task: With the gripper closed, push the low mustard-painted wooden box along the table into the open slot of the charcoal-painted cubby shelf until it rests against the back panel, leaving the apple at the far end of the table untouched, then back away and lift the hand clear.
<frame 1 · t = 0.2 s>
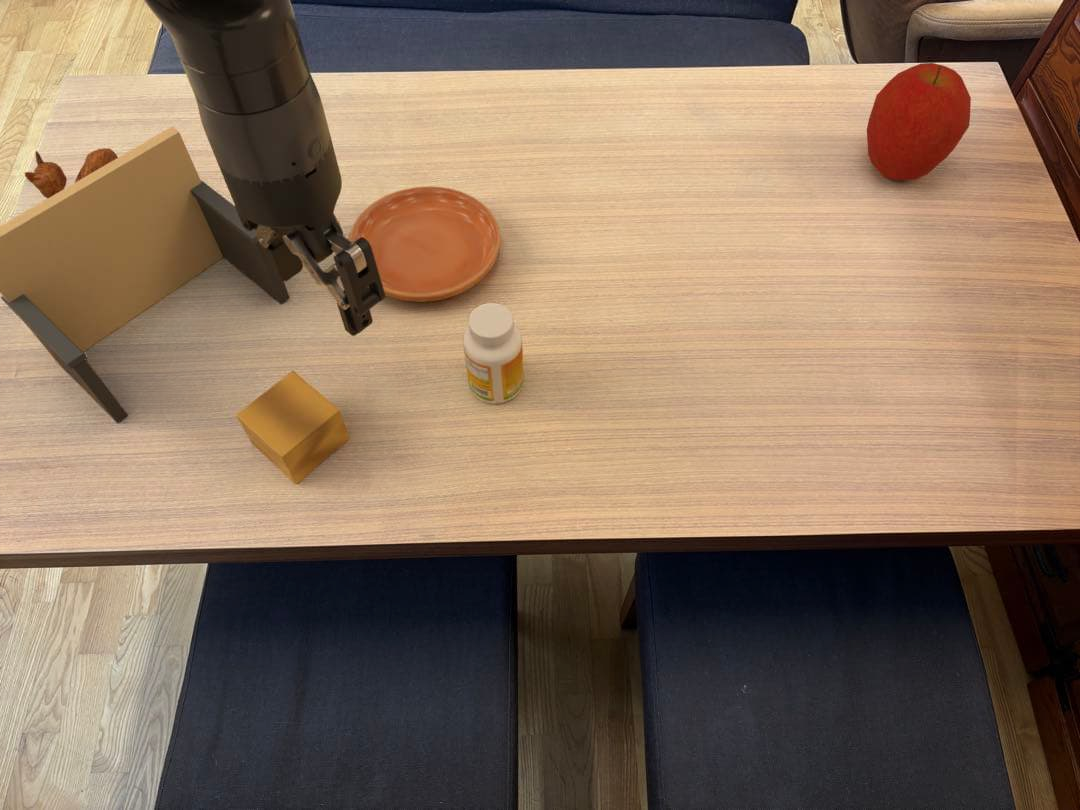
hand: (324, 300, 69), 15 cm above the table, tool pointing down, fingers open, 8 cm apart
cat figurine: (122, 214, 96), on the table
saucer: (427, 258, 92), on the table
shelf: (176, 329, 87), on the table
box: (301, 441, 79), on the table
apple: (895, 171, 99), on the table
supplement bottle: (496, 383, 83), on the table
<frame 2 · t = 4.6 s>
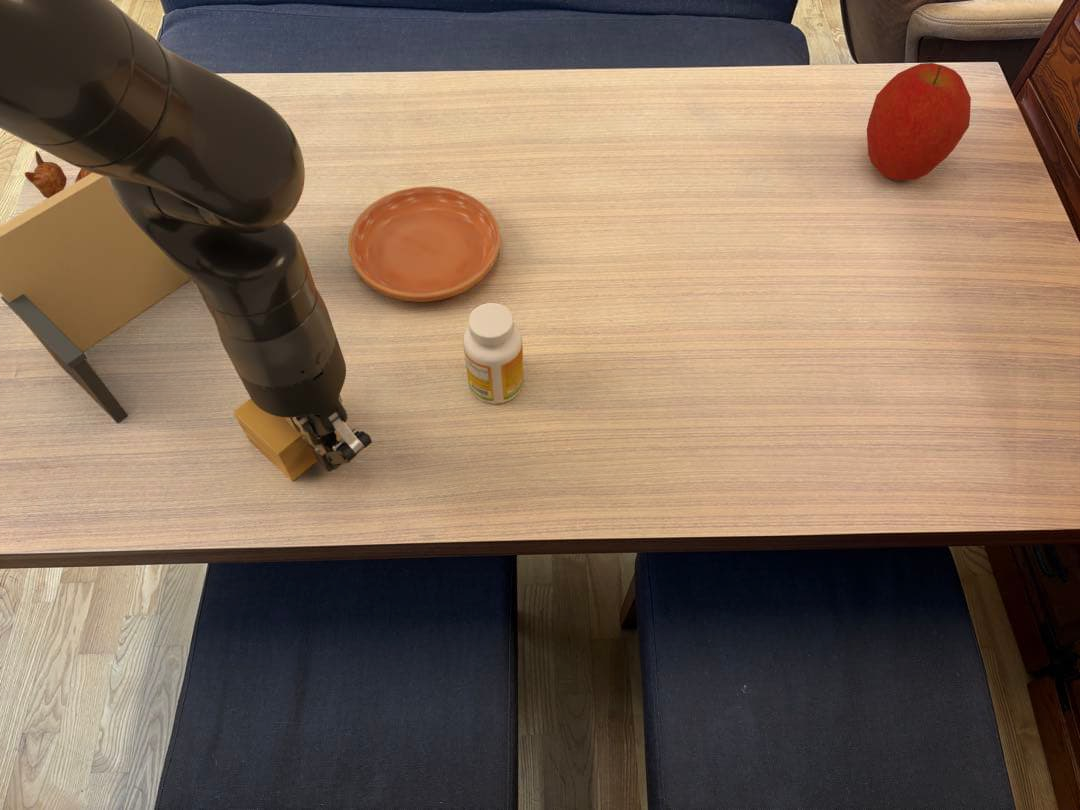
hand: (333, 460, 76), 2 cm above the table, tool pointing down, fingers closed
box: (298, 438, 79), on the table, touching gripper
everything else where it was.
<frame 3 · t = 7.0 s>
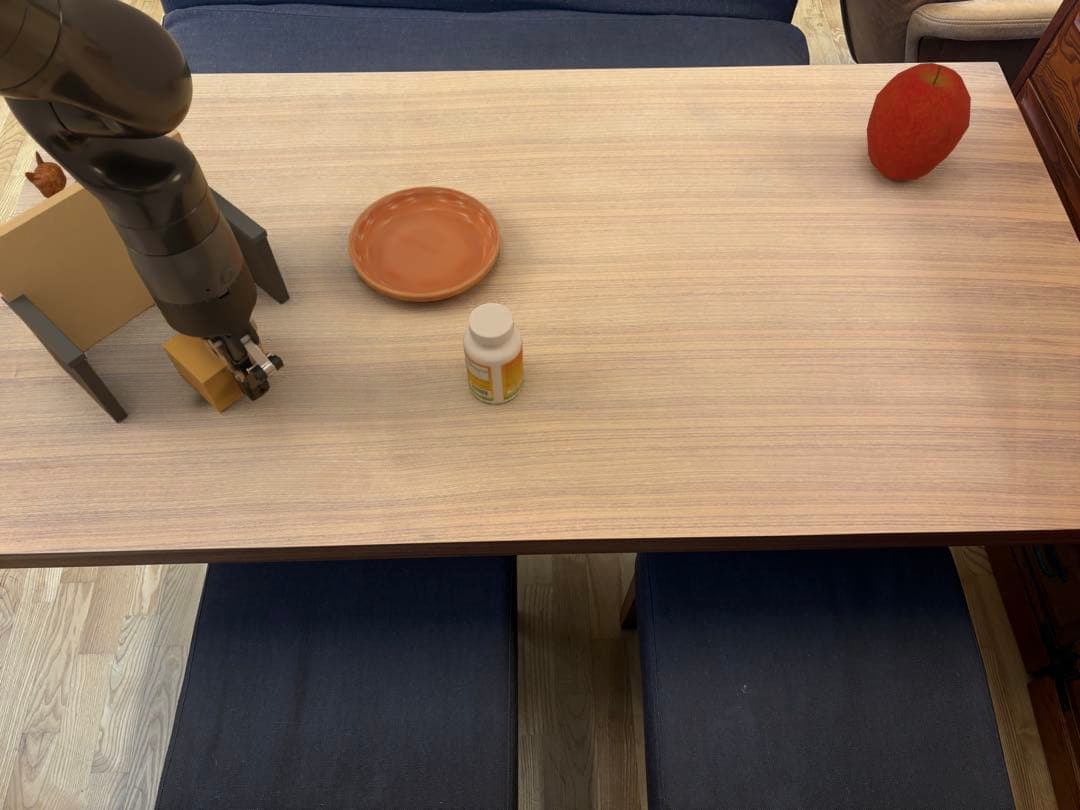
hand: (257, 391, 80), 2 cm above the table, tool pointing down, fingers closed
box: (227, 374, 84), on the table, touching gripper
everything else where it was.
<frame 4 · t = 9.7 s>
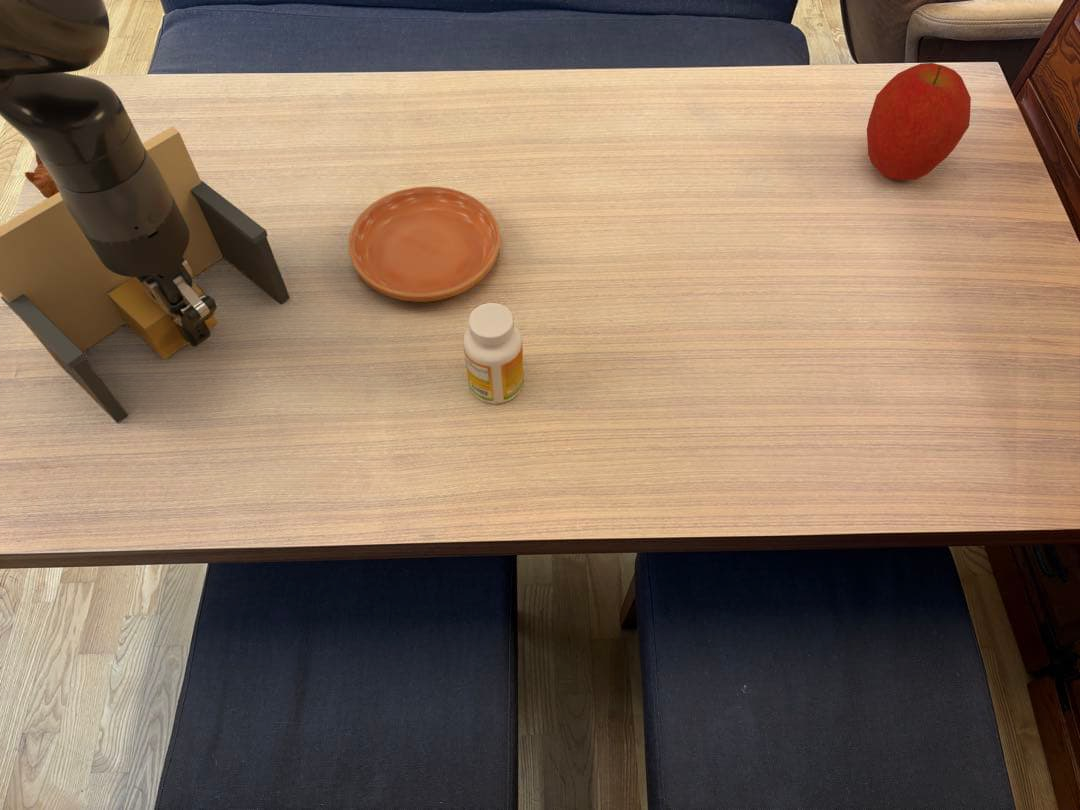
hand: (198, 337, 83), 2 cm above the table, tool pointing down, fingers closed
box: (173, 324, 87), on the table, touching gripper
everything else where it was.
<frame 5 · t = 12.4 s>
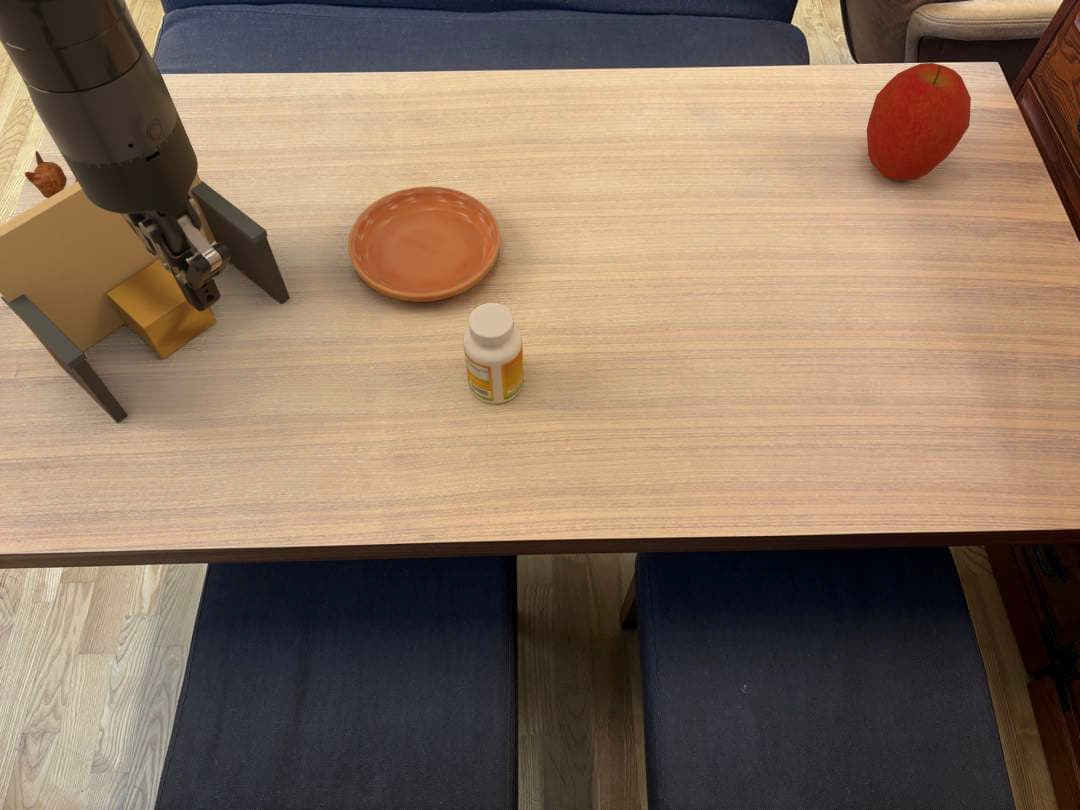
hand: (205, 301, 68), 16 cm above the table, tool pointing down, fingers closed
box: (172, 323, 87), on the table
everything else where it was.
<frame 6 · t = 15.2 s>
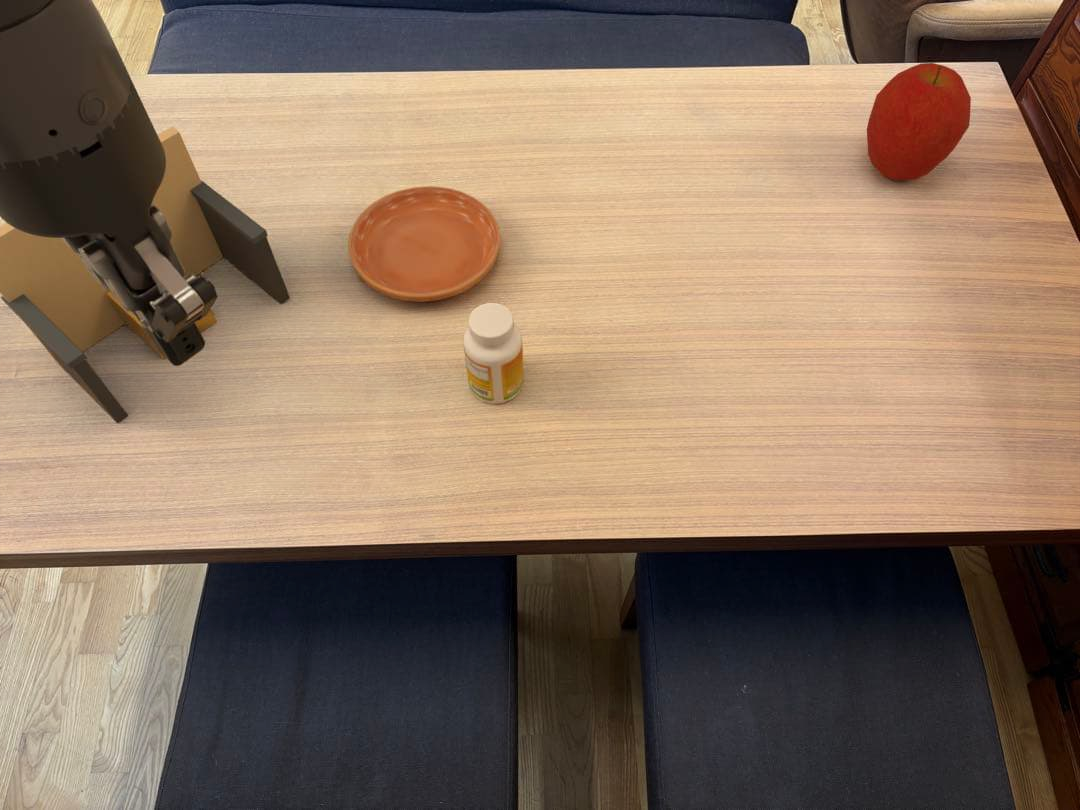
hand: (184, 350, 49), 29 cm above the table, tool pointing down, fingers closed
nothing on the table moved.
at the end: box inside the target area on the shelf (0.1 cm from its centre), point 0.0 cm above the shelf's base; box tilted 0°; apple moved 0.2 cm from its start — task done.
